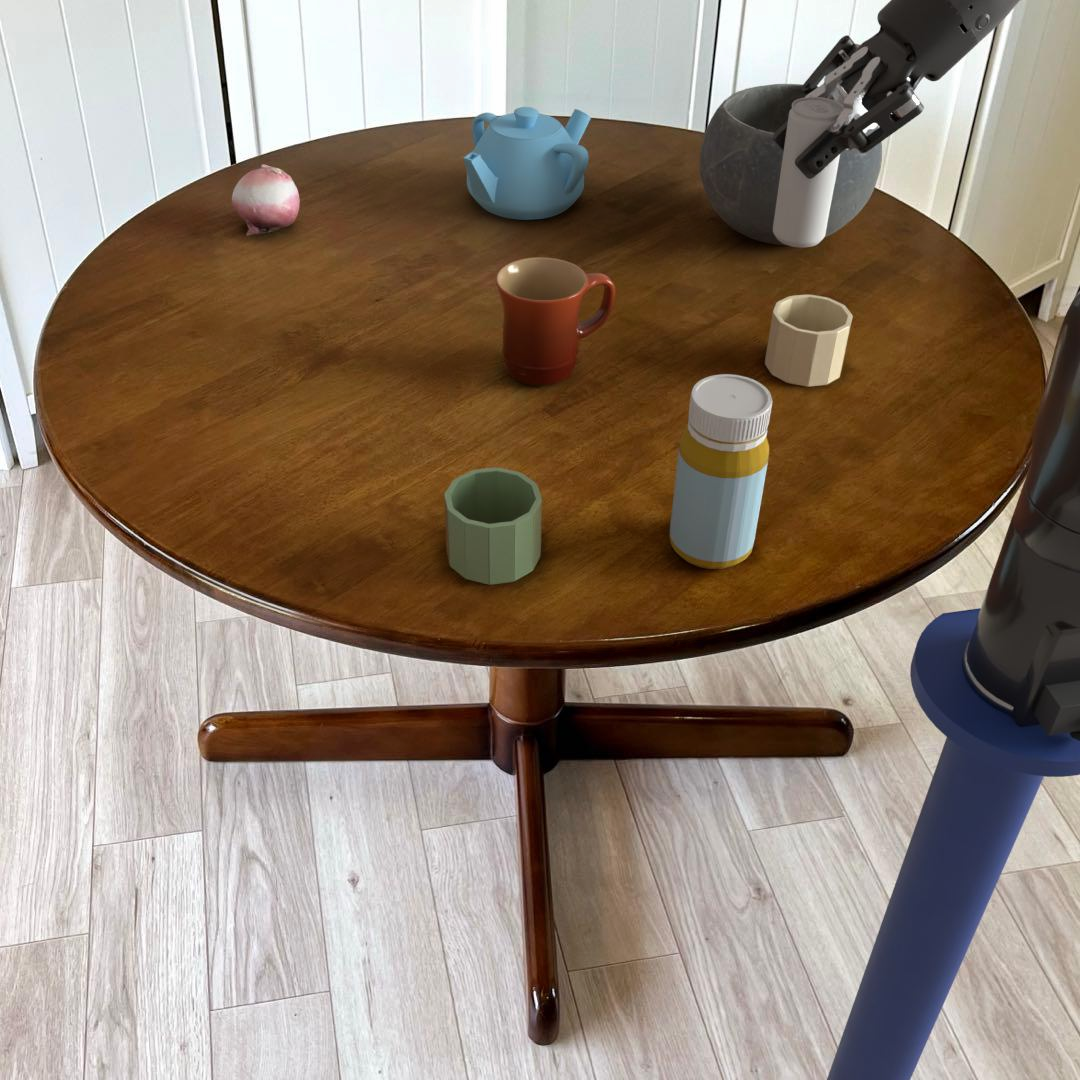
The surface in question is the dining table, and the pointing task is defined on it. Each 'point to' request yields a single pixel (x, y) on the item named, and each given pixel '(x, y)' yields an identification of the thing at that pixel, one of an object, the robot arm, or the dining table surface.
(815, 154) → the robot arm
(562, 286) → the mug
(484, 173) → the teapot
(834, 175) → the beverage can
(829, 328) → the holder
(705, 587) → the dining table surface
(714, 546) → the bottle
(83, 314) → the dining table surface
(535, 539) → the holder
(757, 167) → the bowl
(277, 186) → the onion
